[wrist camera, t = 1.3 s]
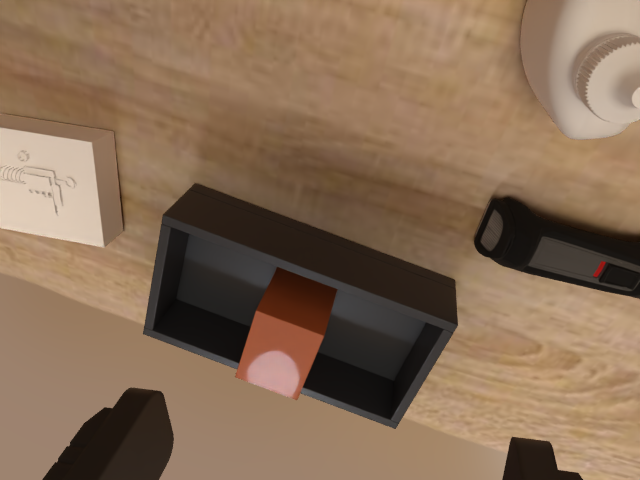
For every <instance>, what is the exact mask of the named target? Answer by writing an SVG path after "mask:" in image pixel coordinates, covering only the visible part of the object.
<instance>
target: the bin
mask: <svg viewBox="0 0 640 480" xmlns="http://www.w3.org/2000/svg"><path fill="white" fill-rule="evenodd" d="M277 267H279V268H282V269H285V270H287V271H290V272H293V273H295V274H298V275H301V276H303V277H306V278H309V279H311V280H314V281H317V282H320V283H322V284H325V285H328V286H330V287H333V288H336V289H337V293H336V297H335V300H334V304H333V307H332V311H331V314H330V318H329V321H328V325H327V328H326V332H325V335H324V338H323V340H322V343H321V345H320V347H319V350H318V352H317V355H316V357H315V359H314V362H313V364H312V366H311V369H310V371H309V373H308V376H307V378H306V381H305V383H304V385H303V388H302V390H301V392H300V393H301V394H304V395H307V396H309V397H312V398H315V399H317V400H320V401H323V402H325V403H328V404H331V405H333V406H336V407H338V408H341V409H344V410H346V411H349V412H352V413H354V414H357V415H360V416H363V417H365V418H368V419H370V420H373V421H376V422H378V423H381V424H384V425H386V426H389V427H392V428H394V429H396V427H397V426H398V424H399V422H400V421H401V419H402V417H403V416H404V414H405V412H406V411H407V409H408V407H409V406H410V404H411V402H412V401H413V399H414V397H415V396H416V394H417V392H418V391H419V389H420V387H421V386H422V384H423V382H424V381H425V379H426V377H427V376H428V374H429V372H430V371H431V369H432V368H433V366H434V364H435V363H436V361H437V359H438V358H439V356H440V354H441V353H442V351H443V349H444V348H445V346H446V344H447V343H448V341H449V339H450V338H451V336H452V334H453V332H454V331H455V329H456V328H457V326H458V319H457V303H456V290H455V289H456V288H455V280H453V279H450V278H447V277H445V276H442V275H439V274H437V273H434V272H431V271H429V270H426V269H423V268H421V267H418V266H415V265H413V264H410V263H407V262H405V261H402V260H399V259H397V258H394V257H391V256H389V255H386V254H383V253H380V252H378V251H375V250H372V249H370V248H367V247H364V246H362V245H359V244H356V243H354V242H351V241H348V240H346V239H343V238H340V237H338V236H335V235H332V234H330V233H327V232H324V231H322V230H319V229H316V228H314V227H311V226H308V225H305V224H303V223H300V222H297V221H295V220H292V219H289V218H287V217H284V216H281V215H279V214H276V213H273V212H271V211H268V210H265V209H263V208H260V207H257V206H255V205H252V204H249V203H247V202H244V201H241V200H239V199H236V198H233V197H230V196H228V195H225V194H222V193H220V192H217V191H214V190H212V189H209V188H206V187H204V186H201V185H198V184H194V185H193V186H192V187H191V188H190V189H189V190H188V191H187V192H186V193H185V194H184V195H183V196H182V197H181V198H180V199H179V200H178V201H177V202H176V203H175V204H174V205H173V206H172V207H171V208H170V209H168V210H167V211H166V212H165V213H164V214H163V217H162V224H161V230H160V236H159V242H158V248H157V254H156V260H155V266H154V272H153V278H152V284H151V290H150V296H149V302H148V308H147V314H146V320H145V326H144V331H143V334H145V335H147V336H150V337H153V338H155V339H158V340H161V341H163V342H166V343H169V344H171V345H174V346H177V347H179V348H182V349H184V350H188V351H190V352H193V353H195V354H198V355H200V356H203V357H206V358H208V359H211V360H214V361H216V362H219V363H222V364H224V365H227V366H230V367H232V368H235V369H238V366H239V363H240V360H241V357H242V353H243V350H244V347H245V344H246V341H247V337H248V334H249V331H250V328H251V325H252V322H253V318H254V315H255V312H256V310H257V307H258V305H259V303H260V301H261V299H262V297H263V295H264V293H265V291H266V289H267V287H268V285H269V283H270V281H271V279H272V277H273V275H274V273H275V271H276V269H277Z"/></svg>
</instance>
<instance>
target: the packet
mask: <svg viewBox="0 0 640 480" xmlns="http://www.w3.org/2000/svg"><path fill="white" fill-rule="evenodd" d="M336 293H337V289H336V288H333V287H330V286H328V285H325V284H322V283H320V282H317V281H314V280H311V279H309V278H306V277H303V276H301V275H298V274H295V273H293V272H290V271H287V270H285V269H282V268H279V267H277V269H276V271H275V273H274V275H273V277H272V279H271V281H270V283H269V285H268V287H267V289H266V291H265V293H264V295H263V297H262V299H261V301H260V303H259V305H258V307H257V310H256V312H255V315H254V318H253V322H252V325H251V328H250V331H249V334H248V337H247V341H246V344H245V347H244V350H243V353H242V357H241V360H240V363H239V366H238V369H237V373H236V376H235V377H236V378H239V379H242V380H244V381H247V382H250V383H252V384H255V385H258V386H260V387H263V388H266V389H268V390H271V391H274V392H276V393H279V394H281V395H284V396H287V397H290V398H292V399H295V400H297V399H298V397H299V395H300V392H301V390H302V388H303V385H304V383H305V381H306V378H307V376H308V373H309V371H310V369H311V366H312V364H313V362H314V359H315V357H316V355H317V352H318V350H319V347H320V345H321V343H322V340H323V338H324V335H325V332H326V328H327V325H328V321H329V318H330V314H331V311H332V307H333V304H334V300H335V297H336Z"/></svg>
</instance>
